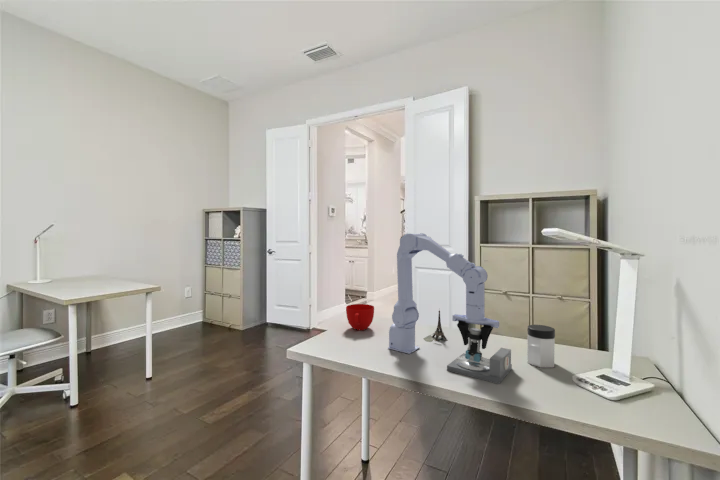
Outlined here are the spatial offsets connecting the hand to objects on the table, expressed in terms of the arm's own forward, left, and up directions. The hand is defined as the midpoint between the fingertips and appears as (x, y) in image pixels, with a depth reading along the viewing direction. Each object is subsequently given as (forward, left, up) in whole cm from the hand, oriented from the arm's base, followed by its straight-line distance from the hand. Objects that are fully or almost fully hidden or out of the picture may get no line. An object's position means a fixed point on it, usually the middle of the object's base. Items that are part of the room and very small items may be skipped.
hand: (474, 346), depth 109 cm
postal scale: (+2, 0, -7) cm, 7 cm away
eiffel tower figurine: (-23, +22, -8) cm, 32 cm away
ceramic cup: (-57, +12, -7) cm, 58 cm away
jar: (+16, +18, -7) cm, 25 cm away
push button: (0, 0, -5) cm, 5 cm away
